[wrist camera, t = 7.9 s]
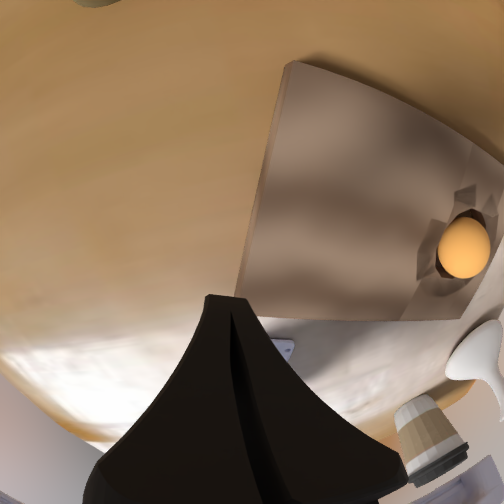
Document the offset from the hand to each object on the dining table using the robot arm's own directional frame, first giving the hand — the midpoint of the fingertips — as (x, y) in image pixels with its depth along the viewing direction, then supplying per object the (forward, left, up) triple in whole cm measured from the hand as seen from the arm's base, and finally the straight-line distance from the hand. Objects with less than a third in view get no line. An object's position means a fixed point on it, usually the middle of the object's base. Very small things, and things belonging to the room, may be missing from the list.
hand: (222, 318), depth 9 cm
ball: (+2, -19, -7) cm, 20 cm away
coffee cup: (-28, -36, -10) cm, 47 cm away
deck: (+2, -14, -9) cm, 17 cm away
